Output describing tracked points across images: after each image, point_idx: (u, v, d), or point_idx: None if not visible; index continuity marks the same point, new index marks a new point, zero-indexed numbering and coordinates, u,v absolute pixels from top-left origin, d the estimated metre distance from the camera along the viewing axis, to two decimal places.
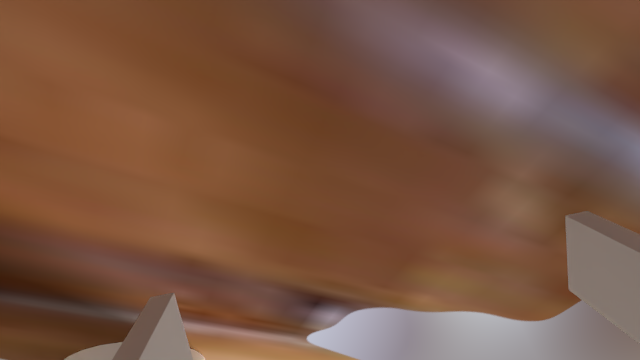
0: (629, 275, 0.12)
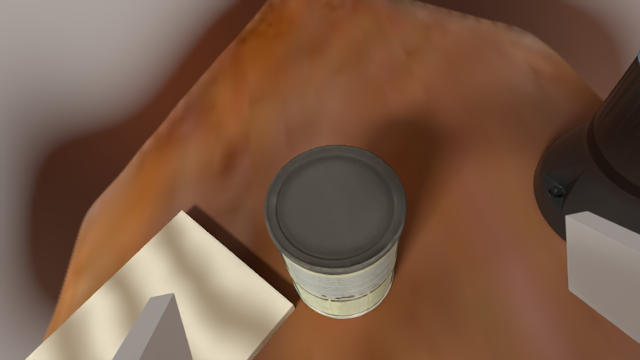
0: (629, 275, 0.12)
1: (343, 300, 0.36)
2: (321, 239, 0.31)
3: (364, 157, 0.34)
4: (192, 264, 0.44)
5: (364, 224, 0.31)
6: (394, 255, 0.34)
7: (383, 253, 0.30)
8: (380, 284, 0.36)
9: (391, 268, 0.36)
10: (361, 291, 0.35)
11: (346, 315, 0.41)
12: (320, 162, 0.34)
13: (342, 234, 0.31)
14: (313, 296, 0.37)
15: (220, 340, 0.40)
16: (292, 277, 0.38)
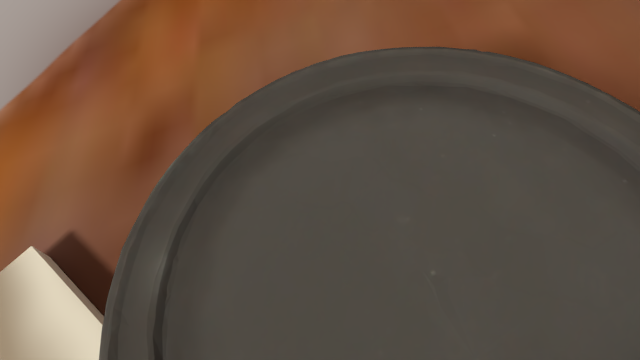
0: None
1: None
2: None
3: (533, 87, 0.08)
4: None
5: None
6: None
7: None
8: None
9: None
10: None
11: None
12: (358, 107, 0.09)
13: None
14: None
15: None
16: None
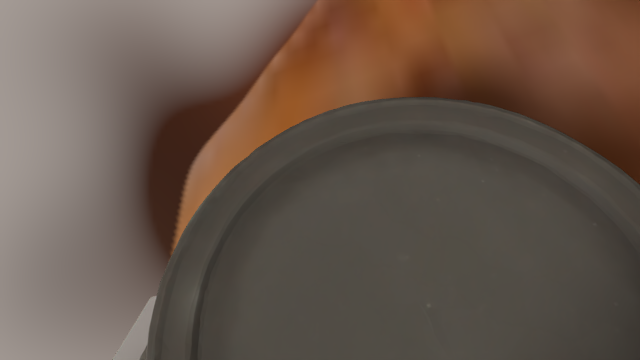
0: None
1: None
2: None
3: (517, 137, 0.10)
4: None
5: None
6: None
7: None
8: None
9: None
10: None
11: None
12: (363, 153, 0.10)
13: None
14: None
15: None
16: None
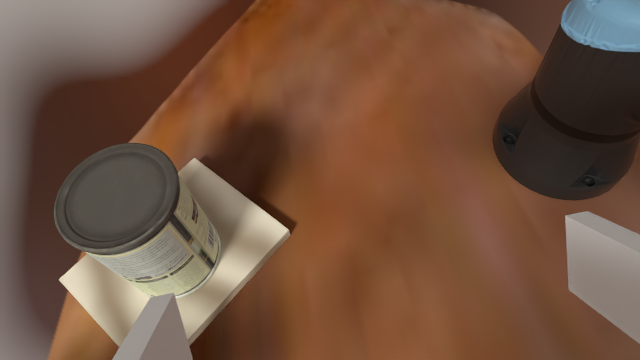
0: (630, 275, 0.12)
1: (145, 281, 0.41)
2: (97, 224, 0.35)
3: (152, 154, 0.38)
4: (204, 199, 0.52)
5: (136, 211, 0.36)
6: (182, 240, 0.39)
7: (144, 236, 0.34)
8: (180, 267, 0.41)
9: (190, 253, 0.41)
10: (155, 272, 0.40)
11: None
12: (115, 158, 0.39)
13: (115, 220, 0.35)
14: (123, 278, 0.42)
15: (228, 257, 0.48)
16: None
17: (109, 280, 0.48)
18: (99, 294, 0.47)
